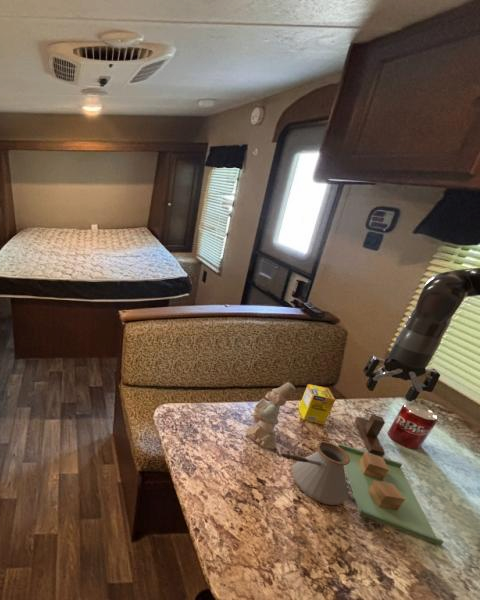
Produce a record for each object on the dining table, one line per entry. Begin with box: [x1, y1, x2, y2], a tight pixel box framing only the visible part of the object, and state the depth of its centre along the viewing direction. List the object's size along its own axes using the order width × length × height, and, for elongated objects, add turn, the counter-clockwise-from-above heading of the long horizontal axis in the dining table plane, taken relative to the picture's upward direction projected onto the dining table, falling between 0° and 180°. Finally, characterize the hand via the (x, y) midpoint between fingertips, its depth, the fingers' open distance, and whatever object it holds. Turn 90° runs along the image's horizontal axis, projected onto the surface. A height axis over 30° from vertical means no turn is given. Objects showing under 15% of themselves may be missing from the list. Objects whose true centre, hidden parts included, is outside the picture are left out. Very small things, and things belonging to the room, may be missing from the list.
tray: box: [337, 443, 444, 546], centre depth 80 cm, size 14×22×2 cm, turn 154°
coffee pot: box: [274, 440, 350, 506], centre depth 76 cm, size 21×12×15 cm, turn 100°
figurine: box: [245, 381, 297, 450], centre depth 91 cm, size 9×8×20 cm
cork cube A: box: [359, 451, 389, 480], centre depth 83 cm, size 4×4×4 cm
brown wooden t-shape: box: [354, 414, 386, 457], centre depth 93 cm, size 3×14×9 cm, turn 154°
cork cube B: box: [368, 481, 405, 510], centre depth 76 cm, size 4×4×4 cm
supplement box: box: [298, 383, 336, 426], centre depth 101 cm, size 6×6×11 cm
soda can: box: [386, 402, 438, 451], centre depth 93 cm, size 7×7×12 cm
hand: (388, 394), depth 89 cm, fingers open, 8 cm apart
